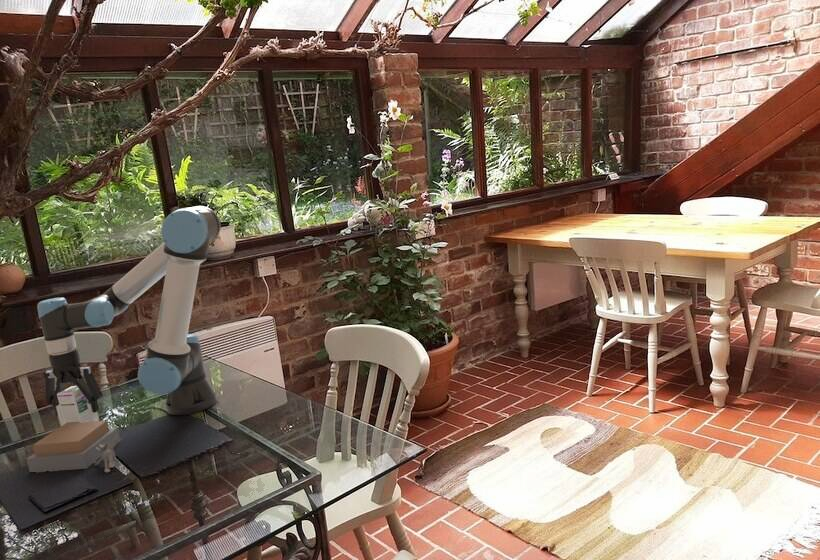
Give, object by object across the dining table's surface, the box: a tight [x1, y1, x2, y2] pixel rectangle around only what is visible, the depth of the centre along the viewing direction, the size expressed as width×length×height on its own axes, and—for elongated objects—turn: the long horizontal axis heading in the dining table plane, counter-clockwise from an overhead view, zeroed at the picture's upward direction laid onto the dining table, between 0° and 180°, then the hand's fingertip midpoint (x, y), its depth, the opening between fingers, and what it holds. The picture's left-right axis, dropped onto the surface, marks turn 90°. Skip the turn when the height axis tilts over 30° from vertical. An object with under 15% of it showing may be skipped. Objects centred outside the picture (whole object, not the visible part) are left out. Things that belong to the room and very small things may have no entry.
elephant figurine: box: [93, 436, 122, 473], centre depth 161 cm, size 10×6×9 cm
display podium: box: [26, 420, 120, 473], centre depth 170 cm, size 16×16×7 cm
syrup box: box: [57, 385, 91, 424], centre depth 185 cm, size 6×6×14 cm
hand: (80, 423), depth 185 cm, fingers open, 9 cm apart
